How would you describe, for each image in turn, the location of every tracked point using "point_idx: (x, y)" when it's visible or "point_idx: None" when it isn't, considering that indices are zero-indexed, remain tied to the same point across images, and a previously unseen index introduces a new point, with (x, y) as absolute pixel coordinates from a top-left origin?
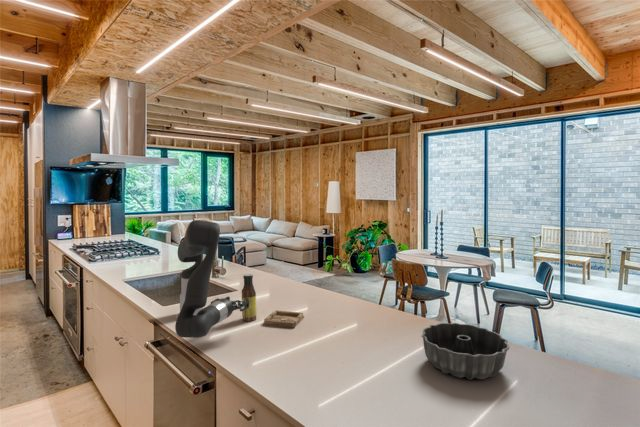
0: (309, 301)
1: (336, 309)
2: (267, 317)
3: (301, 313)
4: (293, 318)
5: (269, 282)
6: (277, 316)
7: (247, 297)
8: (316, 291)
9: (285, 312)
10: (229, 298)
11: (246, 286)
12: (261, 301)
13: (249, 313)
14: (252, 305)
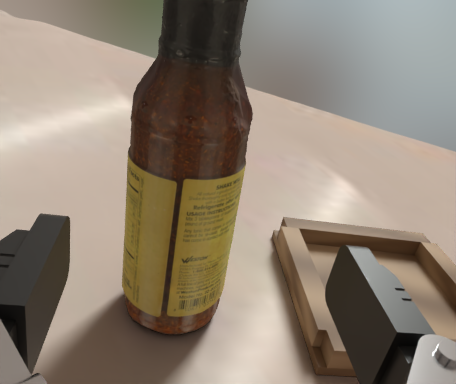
0: (306, 144)
1: (444, 189)
2: (315, 301)
3: (423, 239)
4: (407, 274)
5: (91, 55)
6: (315, 261)
7: (205, 177)
8: (271, 101)
9: (345, 234)
10: (67, 239)
11: (199, 72)
12: (128, 138)
13: (200, 290)
14: (227, 233)
